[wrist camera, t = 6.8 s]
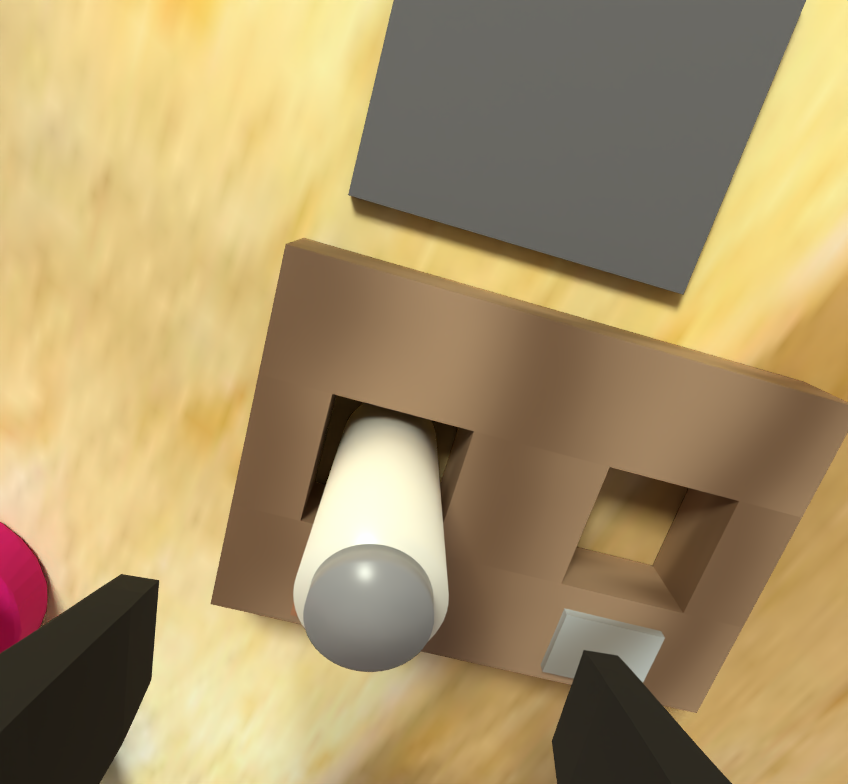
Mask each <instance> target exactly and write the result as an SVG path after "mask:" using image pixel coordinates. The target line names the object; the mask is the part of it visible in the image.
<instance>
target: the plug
mask: <svg viewBox="0 0 848 784" xmlns="http://www.w3.org/2000/svg"><path fill="white" fill-rule="evenodd" d="M293 597H294V605H295V610H296V613H297V615H298V618H299V620H300V622H301V624H302V626H303V627H304V628H305V630H306V633H307V636H308V637H309V639H310V641H311V643H312V644H313V645H314V647H315V648H316V649H317V650H318V651H319V652H320V653H321V654H322V655H323V656H324V657H326V658H327V659H328V660H330V661H332V662H333V663H335V664H337V665H339V666H342V667H345V668H348V669H351V670H356V671H363V672H376V671H384V670H389V669H392V668H395V667H398V666H400V665H402V664H404V663H406V662H408V661H409V660H411V659H412V658H414V657H415V656H416V655H417V654H418V653H419V652H420V651H421V650H422V649H423V648H424V646H425V645H426V644H427V642H428V641H429V640H430V639H431V638H432V637H433V636H434V635H435V633H436V632H437V631H438V629H439V628H440V626H441V624H442V622H443V621H444V618H445V615H446V613H447V608H448V601H449V592H448V579H447V566H446V554H445V541H444V529H443V516H442V504H441V491H440V478H439V466H438V453H437V441H436V432H435V428H434V426H433V423H432V421H431V420H430V419H426V418H422V417H418V416H414V415H411V414H407V413H403V412H399V411H395V410H392V409H388V408H384V407H380V406H376V405H373V404H369V403H364V404H362V405H361V406H360V407H358V408H357V409H356V410H355V411H354V412H353V413H352V415H351V416H350V417H349V419H348V421H347V423H346V425H345V428H344V431H343V434H342V438H341V441H340V444H339V447H338V450H337V453H336V456H335V459H334V462H333V465H332V468H331V471H330V474H329V477H328V480H327V484H326V487H325V490H324V493H323V496H322V499H321V502H320V505H319V508H318V511H317V514H316V517H315V520H314V523H313V526H312V530H311V533H310V536H309V539H308V542H307V545H306V548H305V551H304V554H303V557H302V560H301V563H300V566H299V569H298V572H297V576H296V579H295V583H294V591H293Z"/></svg>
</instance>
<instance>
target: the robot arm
mask: <svg viewBox="0 0 848 784" xmlns="http://www.w3.org/2000/svg"><path fill="white" fill-rule="evenodd" d="M158 588H159V580H154V579H148V578H141V577H135V576H129V575H123V574H121V575H119V576H118V577H116V578H115V579H113V580H112V581H110V582H108V583H107V584H105V585H104V586H102V587H101V588H99V589H98V590H96V591H95V592H93V593H92V594H90V595H89V596H87V597H86V598H84V599H83V600H81V601H80V602H78V603H77V604H75V605H74V606H72V607H71V608H69V609H68V610H66V611H65V612H63V613H62V614H60V615H59V616H57V617H56V618H54V619H53V620H51V621H50V622H48V623H47V624H45V625H44V626H42V627H41V628H39V629H37V630H36V631H34V632H33V633H31V634H30V635H28V636H27V637H25V638H23V639H22V640H20V641H19V642H17V643H16V644H14V645H12V646H11V647H9V648H8V649H6V650H5V651H3V652H2V653H0V784H99V783H100V781H101V780H102V778H103V776H104V775H105V773H106V771H107V769H108V768H109V766H110V764H111V763H112V761H113V759H114V757H115V756H116V754H117V752H118V750H119V749H120V747H121V745H122V743H123V741H124V739H125V737H126V735H127V733H128V730H129V728H130V726H131V724H132V722H133V720H134V718H135V715H136V713H137V711H138V709H139V706H140V704H141V702H142V700H143V697H144V695H145V693H146V691H147V688H148V686H149V684H150V681H151V677H152V664H153V651H154V639H155V626H156V613H157V601H158ZM552 745H553V753H554V761H555V769H556V778H557V784H732V783H731V782H730V781H729V780H728V779H727V778H726V777H725V776H724V775H723V773H722V772H721V771H720V770H719V769H718V768H717V767H716V766H715V765H714V764H713V762H712V761H711V760H710V759H709V758H708V757H707V756H706V755H705V754H704V752H703V751H702V750H701V749H700V748H699V747H698V746H697V745H696V743H695V742H694V741H693V740H692V739H691V738H690V737H689V736H688V734H687V733H686V732H685V731H684V730H683V729H682V728H681V726H680V725H679V724H678V723H677V722H676V721H675V719H674V718H673V717H672V716H671V715H670V714H669V713H668V711H667V710H666V709H665V708H664V707H663V706H662V704H661V703H660V702H659V701H658V700H657V699H656V698H655V696H654V695H653V694H652V693H651V692H650V691H649V689H648V688H647V687H646V686H645V685H644V684H643V683H642V681H641V680H640V679H639V678H638V677H637V676H636V675H635V673H634V672H633V671H632V670H631V669H630V668H629V667H628V666H627V665H626V663H625V662H624V661H623V660H622V659H621V658H620V657H619V656H618V655H612V654H606V653H600V652H594V651H588V650H584V651H583V654H582V656H581V659H580V662H579V665H578V668H577V671H576V674H575V676H574V679H573V682H572V685H571V688H570V691H569V694H568V696H567V699H566V702H565V705H564V708H563V711H562V714H561V716H560V719H559V722H558V725H557V728H556V731H555V734H554V736H553V739H552Z"/></svg>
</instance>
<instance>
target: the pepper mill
mask: <svg viewBox="0 0 848 784" xmlns="http://www.w3.org/2000/svg"><path fill="white" fill-rule="evenodd" d="M47 599H48V597H47V583H46V580H45V577H44V575H43V572H42V570H41V567H40V564H39V562H38V559H37V558H36V556H35V555H34V554H33V553H32V551H31V550H30V549H29V548H28V546H27V545H26V544H25V542H24V541H23V540H22V539H21V538H20V537H19V536H17V535H16V534H15V533H14V532H12V531H11V530H10V529H9V528H8V527H6V526H5V525H4V524H3V523H1V522H0V653H2V652H3V651H5V650H6V649H8V648H9V647H11V646H12V645H14V644H16V643H17V642H19V641H20V640H22V639H23V638H25V637H27V636H28V635H30V634H31V633H33V632H34V631H36V630H37V629H38V628H39V627H40V626H41V623H42V621H43V618H44V615H45V613H46V608H47Z"/></svg>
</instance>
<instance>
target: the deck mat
mask: <svg viewBox="0 0 848 784" xmlns="http://www.w3.org/2000/svg"><path fill="white" fill-rule="evenodd" d="M805 2H806V0H394V2H393V6H392V10H391V14H390V19H389V23H388V27H387V31H386V36H385V40H384V44H383V49H382V53H381V57H380V61H379V66H378V70H377V74H376V78H375V83H374V87H373V91H372V96H371V100H370V104H369V108H368V113H367V117H366V121H365V125H364V130H363V134H362V138H361V143H360V147H359V151H358V155H357V160H356V164H355V168H354V172H353V177H352V181H351V185H350V190H349V194H348V195H349V196H353V197H356V198H360V199H363V200H366V201H370V202H373V203H376V204H380V205H383V206H387V207H390V208H393V209H397V210H400V211H403V212H407V213H410V214H413V215H417V216H420V217H424V218H427V219H430V220H434V221H437V222H440V223H444V224H447V225H451V226H454V227H457V228H461V229H464V230H467V231H471V232H474V233H477V234H481V235H484V236H488V237H491V238H494V239H498V240H501V241H504V242H508V243H511V244H515V245H518V246H521V247H525V248H528V249H531V250H535V251H538V252H541V253H545V254H548V255H552V256H555V257H558V258H562V259H565V260H568V261H572V262H575V263H579V264H582V265H585V266H589V267H592V268H595V269H599V270H602V271H605V272H609V273H612V274H616V275H619V276H622V277H626V278H629V279H632V280H636V281H639V282H643V283H646V284H649V285H653V286H656V287H659V288H663V289H666V290H669V291H673V292H676V293H680V294H684V292H685V290H686V287H687V285H688V282H689V280H690V278H691V275H692V273H693V270H694V268H695V266H696V263H697V261H698V258H699V256H700V254H701V251H702V249H703V246H704V244H705V242H706V239H707V237H708V234H709V232H710V230H711V227H712V225H713V222H714V220H715V218H716V215H717V213H718V211H719V208H720V206H721V203H722V201H723V199H724V196H725V194H726V191H727V189H728V187H729V184H730V182H731V179H732V177H733V175H734V172H735V170H736V167H737V165H738V163H739V160H740V158H741V155H742V153H743V151H744V148H745V146H746V143H747V141H748V139H749V136H750V134H751V131H752V129H753V127H754V124H755V122H756V119H757V117H758V115H759V112H760V110H761V107H762V105H763V103H764V100H765V98H766V95H767V93H768V91H769V88H770V86H771V83H772V81H773V79H774V76H775V74H776V71H777V69H778V67H779V64H780V62H781V59H782V57H783V55H784V52H785V50H786V47H787V45H788V43H789V40H790V38H791V35H792V33H793V31H794V28H795V26H796V23H797V21H798V19H799V16H800V14H801V11H802V9H803V7H804V4H805Z"/></svg>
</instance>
